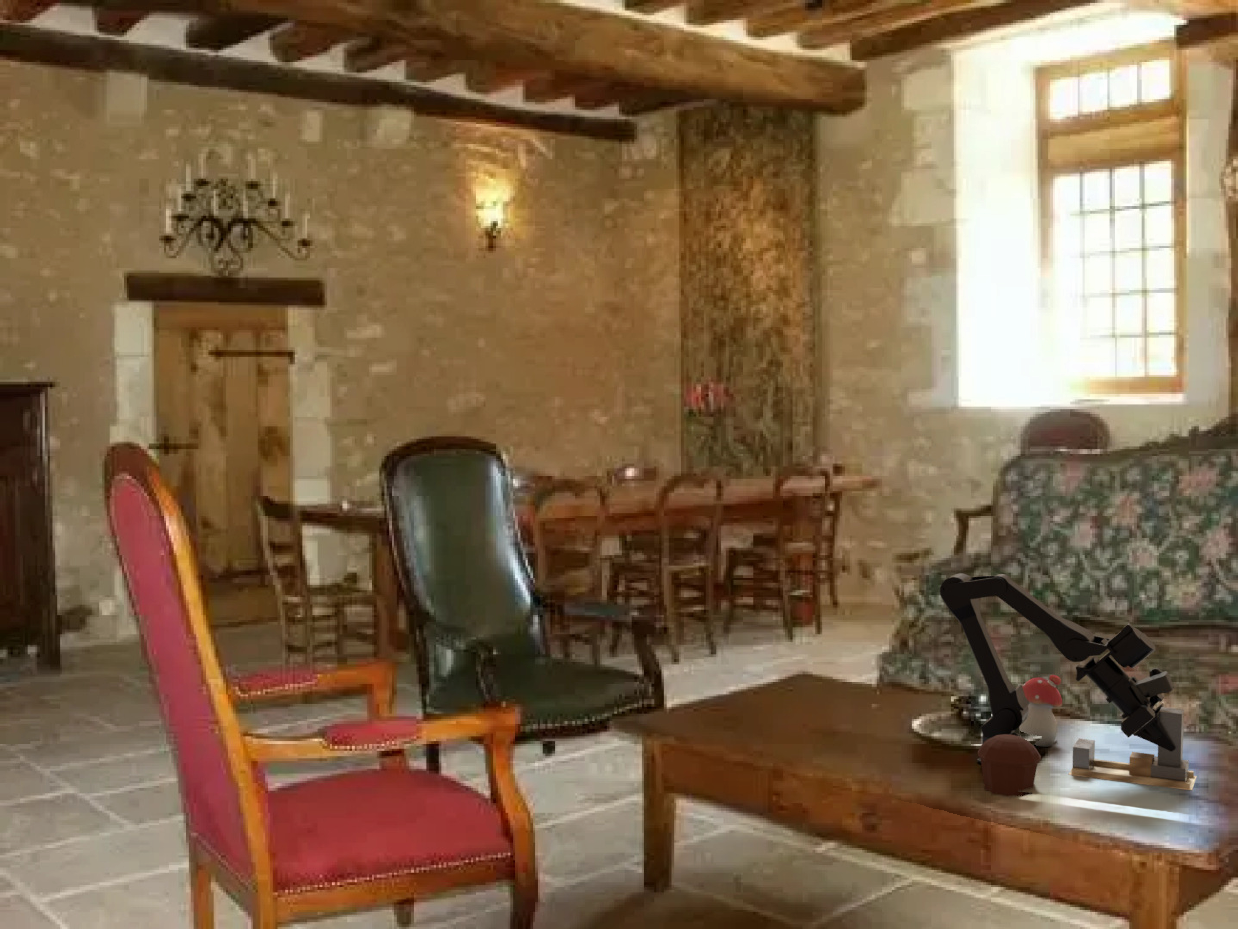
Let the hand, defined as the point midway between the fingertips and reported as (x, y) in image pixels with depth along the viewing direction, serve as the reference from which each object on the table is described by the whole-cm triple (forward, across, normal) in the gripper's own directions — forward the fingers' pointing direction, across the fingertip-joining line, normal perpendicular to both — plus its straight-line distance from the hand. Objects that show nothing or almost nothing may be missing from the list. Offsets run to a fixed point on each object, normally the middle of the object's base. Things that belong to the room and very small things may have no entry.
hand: (1175, 747), depth 264 cm
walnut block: (0, 0, +9) cm, 9 cm away
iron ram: (+4, 0, +5) cm, 6 cm away
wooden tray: (0, 0, +11) cm, 11 cm away
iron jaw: (-7, 0, +16) cm, 18 cm away
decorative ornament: (-15, +20, +26) cm, 36 cm away
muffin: (-14, -16, +25) cm, 33 cm away
